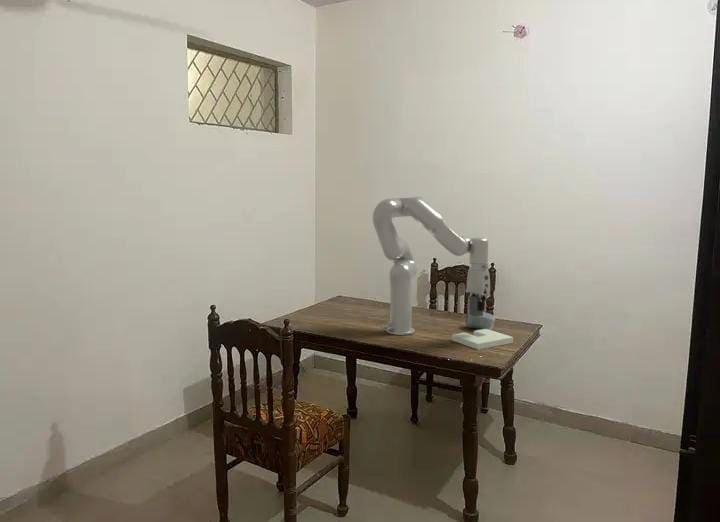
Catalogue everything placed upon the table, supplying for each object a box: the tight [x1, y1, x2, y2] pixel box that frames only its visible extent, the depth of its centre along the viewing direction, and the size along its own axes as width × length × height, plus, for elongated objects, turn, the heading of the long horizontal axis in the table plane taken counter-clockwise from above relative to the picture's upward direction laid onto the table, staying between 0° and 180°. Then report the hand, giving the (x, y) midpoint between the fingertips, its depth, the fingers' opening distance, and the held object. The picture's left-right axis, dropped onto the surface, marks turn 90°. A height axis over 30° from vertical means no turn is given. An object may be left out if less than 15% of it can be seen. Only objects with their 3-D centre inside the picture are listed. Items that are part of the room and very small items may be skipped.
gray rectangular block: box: [468, 295, 484, 317], centre depth 236 cm, size 4×4×8 cm
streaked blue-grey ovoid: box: [465, 311, 496, 330], centre depth 255 cm, size 14×10×10 cm
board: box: [451, 329, 514, 350], centre depth 235 cm, size 20×16×2 cm
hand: (477, 309), depth 236 cm, fingers closed on gray rectangular block, 4 cm apart
